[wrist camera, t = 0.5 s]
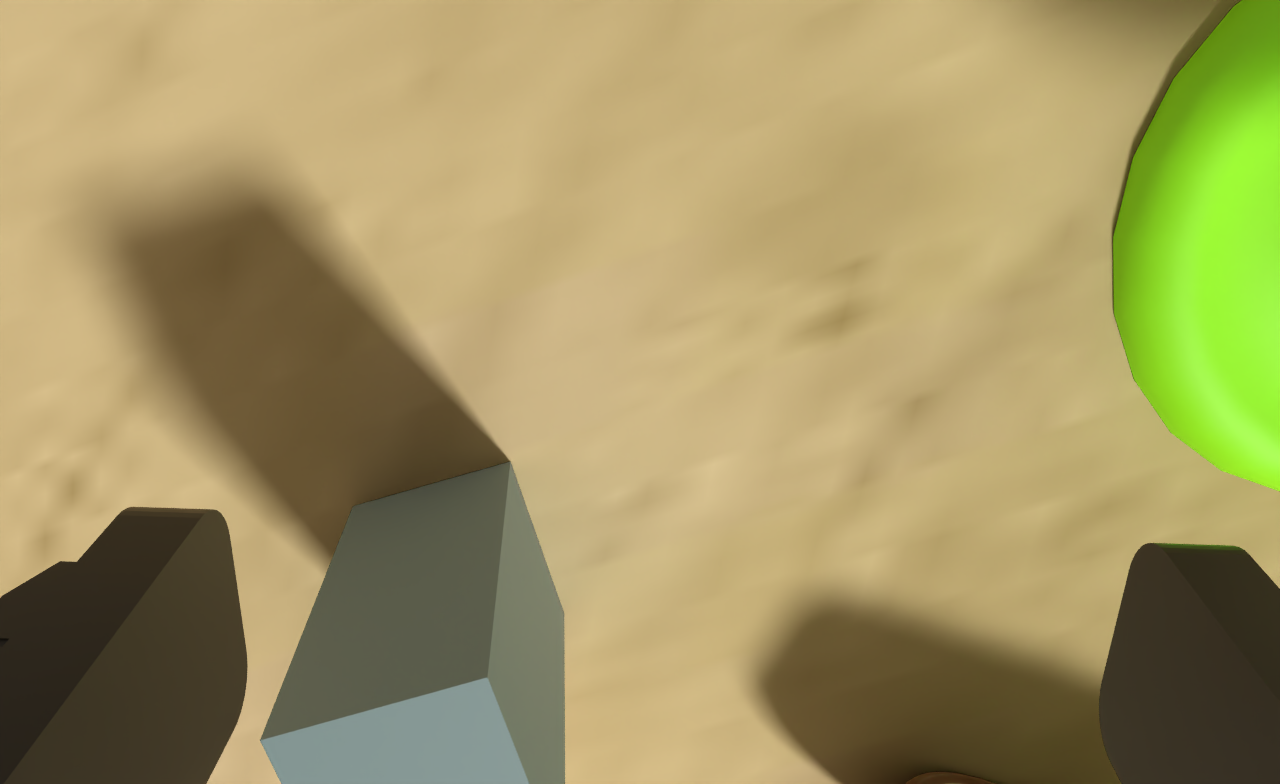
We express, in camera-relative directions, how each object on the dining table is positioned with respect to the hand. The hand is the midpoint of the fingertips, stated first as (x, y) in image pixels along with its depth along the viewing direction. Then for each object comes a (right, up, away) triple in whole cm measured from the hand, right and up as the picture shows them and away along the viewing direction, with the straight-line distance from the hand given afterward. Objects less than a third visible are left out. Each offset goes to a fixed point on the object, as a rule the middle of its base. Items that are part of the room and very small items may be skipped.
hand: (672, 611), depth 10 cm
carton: (-5, -3, +21) cm, 22 cm away
